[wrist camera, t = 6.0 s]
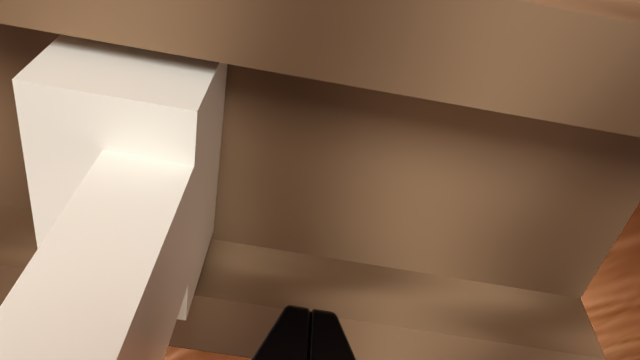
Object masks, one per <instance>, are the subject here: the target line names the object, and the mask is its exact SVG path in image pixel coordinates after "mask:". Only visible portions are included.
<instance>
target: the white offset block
mask: <svg viewBox="0 0 640 360" xmlns="http://www.w3.org/2000/svg"><path fill="white" fill-rule="evenodd" d="M227 65H228V64H225V63H219V62H214V61H208V60H202V59H197V58H191V57H186V56H180V55H174V54H169V53H163V52H157V51H152V50H146V49H141V48H135V47H129V46H124V45H118V44H112V43H107V42H101V41H96V40H90V39H84V38H79V37H73V36H68V35H62V34H61V35H60V36H59V37H57V38H56V39H55V40H54V41H53V42H52V43H51V44H50V45H49V46H48V47H47V48H45V49H44V50H43V51H42V52H41V53H40V54H39V55H38V56H37V57H36V58H35V59H33V60H32V61H31V62H30V63H29V64H28V65H27V66H26V67H25V68H24V69H23V70H21V71H20V72H19V73H18V74H17V75H16V76H15V77H14V78H13V79H12V83H13V89H14V96H15V102H16V109H17V116H18V122H19V129H20V136H21V142H22V149H23V156H24V162H25V169H26V175H27V182H28V189H29V195H30V202H31V209H32V215H33V222H34V229H35V235H36V242H37V248H38V249H37V251H36V252H35V254H34V255H33V257H32V259H31V260H30V262H29V263H28V265H27V266H26V268H25V269H24V271H23V272H22V274H21V275H20V277H19V278H18V280H17V281H16V283H15V284H14V286H13V288H12V289H11V291H10V292H9V294H8V295H7V297H6V298H5V300H4V301H3V303H2V304H1V306H0V360H164V358H165V355H166V351H167V348H168V345H169V342H170V339H171V336H172V333H173V330H174V327H175V324H176V320H177V319H179V320H186V319H187V316H188V312H189V309H190V306H191V303H192V299H193V296H194V293H195V289H196V286H197V283H198V280H199V276H200V273H201V270H202V267H203V263H204V260H205V257H206V253H207V250H208V247H209V244H210V240H211V237H212V234H213V230H214V219H215V207H216V195H217V183H218V172H219V160H220V148H221V136H222V124H223V112H224V100H225V88H226V76H227Z"/></svg>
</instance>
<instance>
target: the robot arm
mask: <svg viewBox="0 0 640 360" xmlns="http://www.w3.org/2000/svg"><path fill="white" fill-rule="evenodd" d="M252 360H356V358H355V356H354V354H353V351H352V349H351V347H350V344H349V342H348V340H347V337H346V335H345V333H344V330H343V328H342V326H341V323H340V321H339V319H338V317H337V315H336V314H335V313H334V312H331V311H325V310H319V309H313V310H312V311H311V312H310V310H309V309H308V308H306V307H300V306H294V305H287V306H286V307H285V308H284V309H283V311H282V312H281V314H280V315H279V317H278V319H277V320H276V322H275V323H274V325H273V326H272V328H271V330H270V331H269V333H268V334H267V336H266V338H265V339H264V341H263V342H262V344H261V345H260V347H259V349H258V350H257V352H256V353H255V355H254V356H253V358H252Z"/></svg>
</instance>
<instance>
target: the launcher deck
mask: <svg viewBox="0 0 640 360" xmlns="http://www.w3.org/2000/svg"><path fill="white" fill-rule="evenodd" d="M61 34H62V35H68V36H73V37H79V38H84V39H90V40H96V41H101V42H107V43H112V44H118V45H124V46H129V47H135V48H141V49H146V50H152V51H157V52H163V53H169V54H174V55H180V56H186V57H191V58H197V59H202V60H208V61H214V62H219V63H225V64H228V65H227V76H226V88H225V100H224V112H223V124H222V136H221V148H220V160H219V172H218V183H217V195H216V207H215V219H214V230H213V234H212V237H211V240H210V244H209V247H208V250H207V253H206V257H205V260H204V263H203V267H202V270H201V273H200V276H199V280H198V283H197V286H196V289H195V293H194V296H193V299H192V303H191V306H190V309H189V312H188V316H187V319H186V320H179V319H177V320H176V324H175V327H174V330H173V333H172V336H171V339H170V342H169V345H168V346H173V347H180V348H187V349H193V350H200V351H207V352H213V353H220V354H227V355H233V356H240V357H247V358H253V356H254V355H255V353H256V352H257V350H258V349H259V347H260V345H261V344H262V342H263V341H264V339H265V338H266V336H267V334H268V333H269V331H270V330H271V328H272V326H273V325H274V323H275V322H276V320H277V319H278V317H279V315H280V314H281V312H282V311H283V309H284V308H285V307H286V306H287V305H294V306H300V307H306V308H308V309H309V310H310V312H311V311H312V310H313V309H319V310H325V311H331V312H334V313H335V314H336V315H337V317H338V319H339V321H340V323H341V326H342V328H343V330H344V333H345V335H346V337H347V340H348V342H349V344H350V347H351V349H352V351H353V354H354V356H355V358H356V360H605V359H606V358H605V356H604V354H603V351H602V349H601V346H600V344H599V342H598V339H597V337H596V335H595V332H594V330H593V327H592V325H591V323H590V320H589V318H588V315H587V313H586V311H585V308H584V306H583V304H582V301H581V299H580V298H581V296H582V295H583V293H584V291H585V290H586V288H587V286H588V285H589V283H590V282H591V280H592V278H593V277H594V275H595V274H596V272H597V270H598V269H599V267H600V266H601V264H602V262H603V261H604V259H605V257H606V256H607V254H608V253H609V251H610V249H611V248H612V246H613V245H614V243H615V241H616V240H617V238H618V237H619V235H620V233H621V232H622V230H623V229H624V227H625V225H626V224H627V222H628V220H629V219H630V217H631V216H632V214H633V212H634V211H635V209H636V208H637V206H638V204H639V203H640V0H0V306H1V304H2V303H3V301H4V300H5V298H6V297H7V295H8V294H9V292H10V291H11V289H12V288H13V286H14V284H15V283H16V281H17V280H18V278H19V277H20V275H21V274H22V272H23V271H24V269H25V268H26V266H27V265H28V263H29V262H30V260H31V259H32V257H33V255H34V254H35V252H36V251H37V249H38V248H37V242H36V235H35V229H34V222H33V215H32V209H31V202H30V195H29V189H28V182H27V175H26V169H25V162H24V156H23V149H22V142H21V136H20V129H19V122H18V116H17V109H16V102H15V96H14V89H13V83H12V79H13V78H14V77H15V76H16V75H17V74H18V73H19V72H20V71H21V70H23V69H24V68H25V67H26V66H27V65H28V64H29V63H30V62H31V61H32V60H33V59H35V58H36V57H37V56H38V55H39V54H40V53H41V52H42V51H43V50H44V49H45V48H47V47H48V46H49V45H50V44H51V43H52V42H53V41H54V40H55V39H56V38H57V37H59V36H60V35H61Z"/></svg>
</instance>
